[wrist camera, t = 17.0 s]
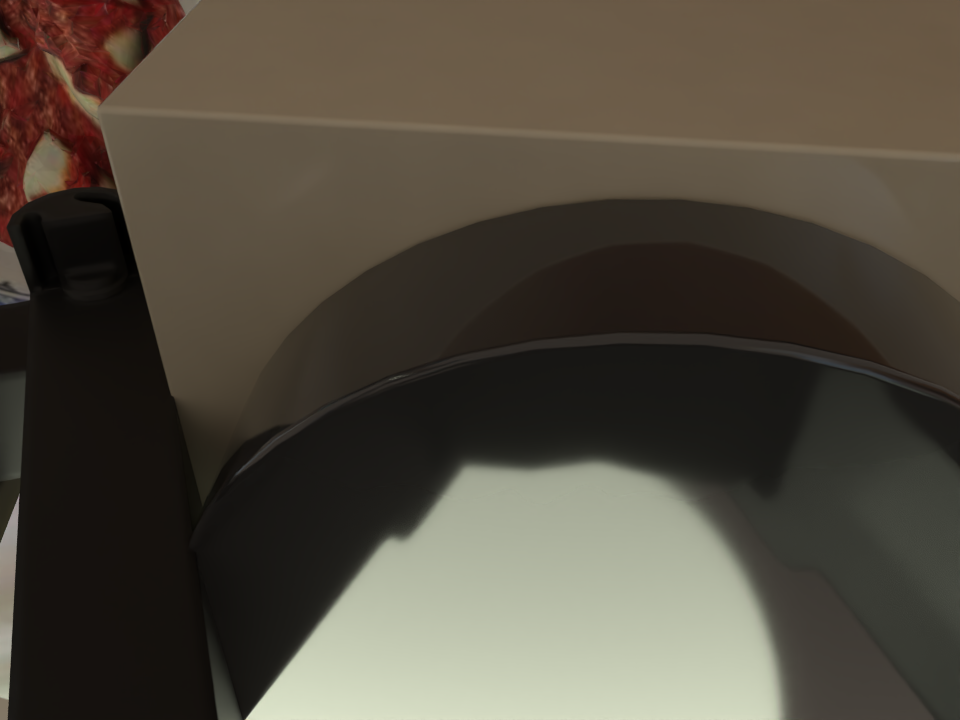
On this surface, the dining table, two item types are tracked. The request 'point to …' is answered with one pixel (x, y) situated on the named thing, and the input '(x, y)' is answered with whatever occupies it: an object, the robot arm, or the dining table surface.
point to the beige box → (562, 351)
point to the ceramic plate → (63, 97)
